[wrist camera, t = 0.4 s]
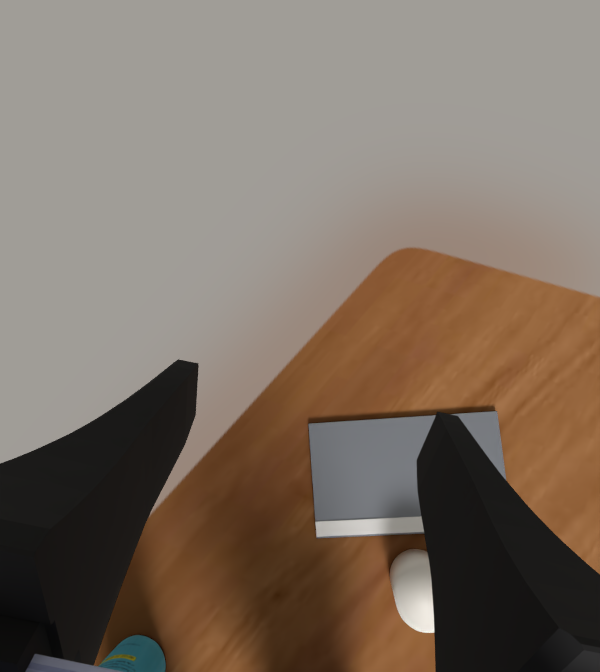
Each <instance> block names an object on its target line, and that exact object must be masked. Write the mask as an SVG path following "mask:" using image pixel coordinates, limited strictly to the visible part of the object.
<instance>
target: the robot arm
mask: <svg viewBox="0 0 600 672" xmlns="http://www.w3.org/2000/svg"><path fill="white" fill-rule="evenodd" d="M197 380H198V363H193V362H187V361H183V360H177V361H176V362H174V363H173V364H172V365H170V366H169V367H168V368H167V369H165V370H164V371H163V372H162V373H160V374H159V375H158V376H157V377H155V378H154V379H153V380H151V381H150V382H149V383H148V384H146V385H145V386H144V387H142V388H141V389H140V390H138V391H137V392H136V393H134V394H133V395H131V396H130V397H129V398H127V399H126V400H124V401H123V402H122V403H120V404H118V405H117V406H116V407H114V408H112V409H111V410H109V411H108V412H107V413H105V414H103V415H102V416H100V417H99V418H97V419H95V420H94V421H92V422H90V423H88V424H87V425H85V426H83V427H82V428H80V429H78V430H76V431H74V432H72V433H70V434H69V435H66V436H64V437H62V438H60V439H58V440H56V441H54V442H52V443H49V444H47V445H45V446H43V447H41V448H38V449H36V450H34V451H32V452H29V453H27V454H24V455H22V456H19V457H17V458H14V459H12V460H9V461H6V462H4V463H1V464H0V672H122V671H117V670H112V669H107V668H103V667H98V666H93V665H94V663H95V660H96V657H97V654H98V651H99V648H100V645H101V642H102V639H103V636H104V633H105V630H106V627H107V625H108V622H109V619H110V616H111V613H112V611H113V608H114V605H115V602H116V599H117V597H118V594H119V591H120V588H121V586H122V583H123V580H124V578H125V575H126V572H127V570H128V567H129V564H130V562H131V559H132V556H133V554H134V551H135V549H136V546H137V544H138V541H139V538H140V536H141V533H142V531H143V528H144V526H145V523H146V521H147V519H148V517H149V514H150V512H151V510H152V508H153V506H154V504H155V502H156V500H157V498H158V496H159V494H160V492H161V490H162V488H163V486H164V485H165V483H166V481H167V479H168V476H169V475H170V473H171V471H172V469H173V467H174V465H175V463H176V461H177V459H178V457H179V455H180V453H181V451H182V449H183V447H184V445H185V443H186V440H187V437H188V434H189V432H190V429H191V426H192V423H193V421H194V418H195V414H196V397H197ZM417 491H418V498H419V505H420V511H421V517H422V523H423V529H424V535H425V541H426V547H427V552H428V558H429V564H430V572H431V581H432V596H433V611H434V633H435V661H436V672H600V574H598V573H597V572H596V571H595V570H594V569H592V568H591V567H590V566H589V565H588V564H587V563H585V562H584V561H583V560H582V559H581V558H580V557H579V556H578V555H577V554H575V553H574V552H573V551H572V550H571V549H570V548H569V547H568V546H567V545H566V544H564V543H563V542H562V541H561V540H560V539H559V538H558V537H557V536H556V535H555V534H554V533H553V532H552V531H551V530H550V529H549V528H548V527H547V526H546V525H545V524H544V523H543V522H542V521H541V520H540V519H539V518H538V517H537V515H536V514H535V513H534V512H533V511H532V510H531V509H530V508H529V507H528V506H527V505H526V504H525V502H524V501H523V500H522V499H521V498H520V497H519V495H518V494H517V493H516V492H515V491H514V489H513V488H512V487H511V486H510V485H509V483H508V482H507V481H506V480H505V479H504V477H503V476H502V475H501V473H500V472H499V471H498V470H497V468H496V467H495V466H494V464H493V463H492V462H491V460H490V459H489V458H488V456H487V455H486V454H485V452H484V451H483V450H482V448H481V447H480V446H479V444H478V443H477V441H476V440H475V439H474V437H473V436H472V434H471V433H470V432H469V430H468V429H467V427H466V426H465V425H464V423H463V422H462V421H461V419H460V418H459V417H458V416H456V415H451V414H446V413H441V412H437V414H436V416H435V419H434V421H433V423H432V426H431V428H430V430H429V432H428V435H427V437H426V439H425V442H424V444H423V446H422V448H421V451H420V453H419V455H418V458H417Z"/></svg>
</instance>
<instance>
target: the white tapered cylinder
mask: <svg viewBox="0 0 600 672" xmlns="http://www.w3.org/2000/svg"><path fill="white" fill-rule="evenodd" d="M390 582H391V586H392V590H393V594H394V598H395V602H396V606H397V609H398V612H399V614H400V616H401V617H402V619H403V620H404V621H405V622H406V623H407V624H408V625H409V626H410V627H412V628H413V629H415V630H417V631H420V632H424V633H434V611H433V596H432V581H431V572H430V564H429V558H428V552H426V551H424V550H421V549H409V550H406V551H404V552H402V553H400V554H399V555H398V556H397V557H396V558H395V559H394V561H393V563H392V565H391V568H390Z"/></svg>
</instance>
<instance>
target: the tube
mask: <svg viewBox="0 0 600 672" xmlns="http://www.w3.org/2000/svg"><path fill="white" fill-rule="evenodd" d="M98 667H103V668H107V669H112V670H117V671H122V672H165V670H166V662H165V657H164V654H163V652H162V650H161V648H160V646H159V645H158V644H157V643H156V642H155V641H154V640H152V639H150V638H148V637H146V636H142V635H134V636H130V637H128V638H126V639H124V640H123V641H122V642H120V643H119V644H118V645H117V646H116V647H115V649H114V650H113V651H112V652H111V653H110V654H109V655H108V656H107V657H106V658H105V659H104V660H103V661H102V663H101V664H100V665H99V666H98Z"/></svg>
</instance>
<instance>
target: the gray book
mask: <svg viewBox="0 0 600 672" xmlns="http://www.w3.org/2000/svg"><path fill="white" fill-rule="evenodd" d="M451 415H456V416H458V417H459V418H460V419H461V421H462V422H463V423H464V425H465V426H466V427H467V429H468V430H469V432H470V433H471V434H472V436H473V437H474V439H475V440H476V441H477V443H478V444H479V446H480V447H481V448H482V450H483V451H484V452H485V454H486V455H487V456H488V458H489V459H490V460H491V462H492V463H493V464H494V466H495V467H496V468H497V470H498V471H499V472H500V473H501V475H502V476H503V477H504V479H505V480H506V475H505V468H504V460H503V453H502V445H501V438H500V430H499V423H498V415H497V411H490V412H475V413H460V414H451ZM435 416H436V415H430V416H415V417H401V418H386V419H371V420H356V421H341V422H326V423H311V424H309V438H310V452H311V466H312V480H313V494H314V508H315V524H316V537H317V538H335V537H357V536H379V535H401V534H423V533H424V529H423V523H422V517H421V511H420V505H419V498H418V491H417V458H418V455H419V453H420V451H421V448H422V446H423V444H424V442H425V439H426V437H427V435H428V432H429V430H430V428H431V426H432V423H433V421H434V419H435Z"/></svg>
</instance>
